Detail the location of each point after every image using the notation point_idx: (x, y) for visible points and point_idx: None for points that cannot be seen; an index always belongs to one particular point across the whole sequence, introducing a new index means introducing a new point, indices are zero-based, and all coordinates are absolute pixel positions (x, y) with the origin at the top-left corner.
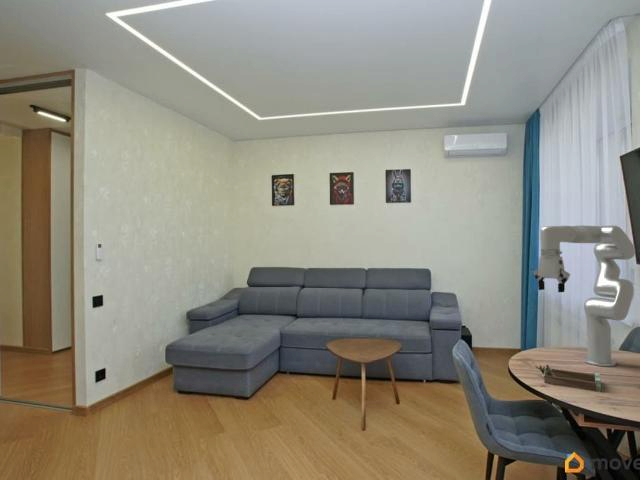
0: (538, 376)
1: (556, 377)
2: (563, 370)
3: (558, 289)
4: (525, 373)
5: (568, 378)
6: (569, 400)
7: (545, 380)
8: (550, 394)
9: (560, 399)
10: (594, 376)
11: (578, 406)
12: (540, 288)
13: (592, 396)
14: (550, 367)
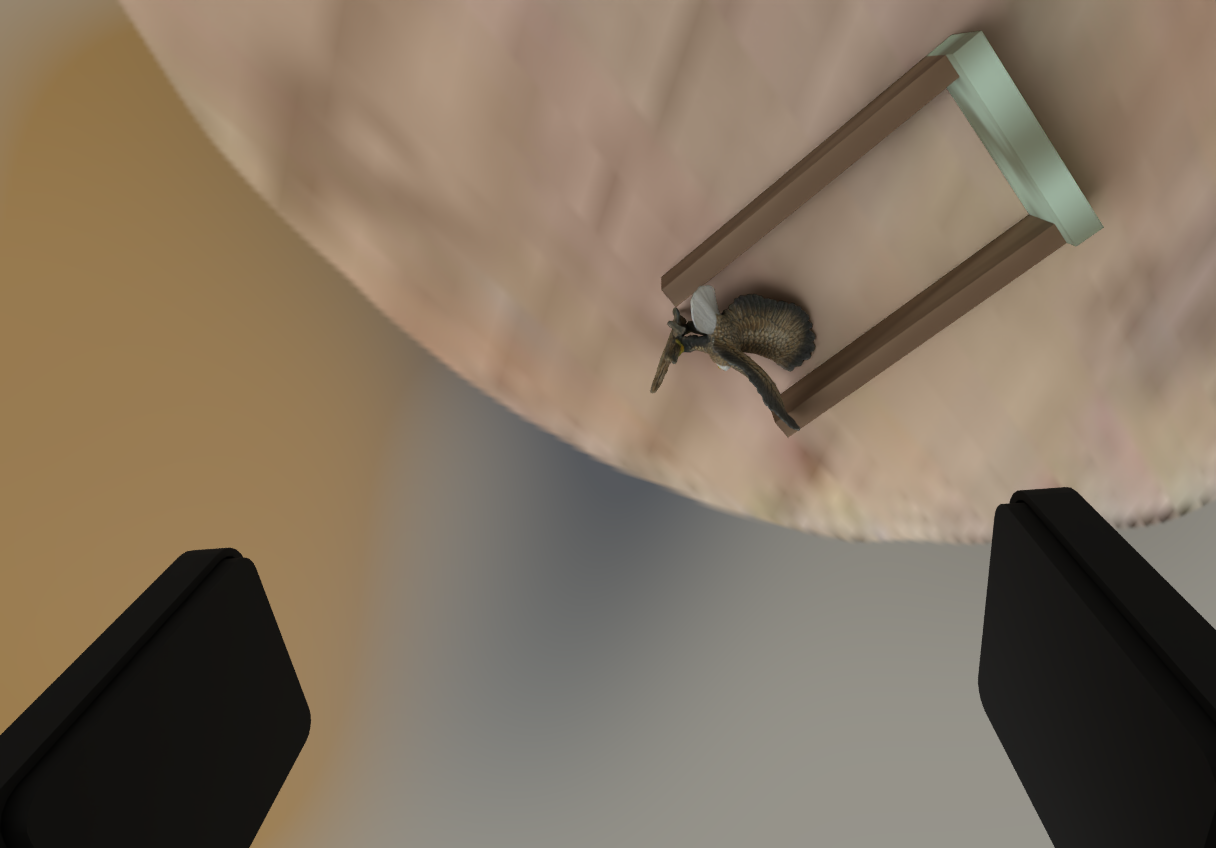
0: None
1: (848, 392)
2: (763, 217)
3: (1034, 773)
4: (594, 390)
5: (901, 335)
6: None
7: None
8: (926, 525)
9: None
10: (953, 78)
11: None
12: (286, 741)
13: (1077, 340)
14: (703, 291)
